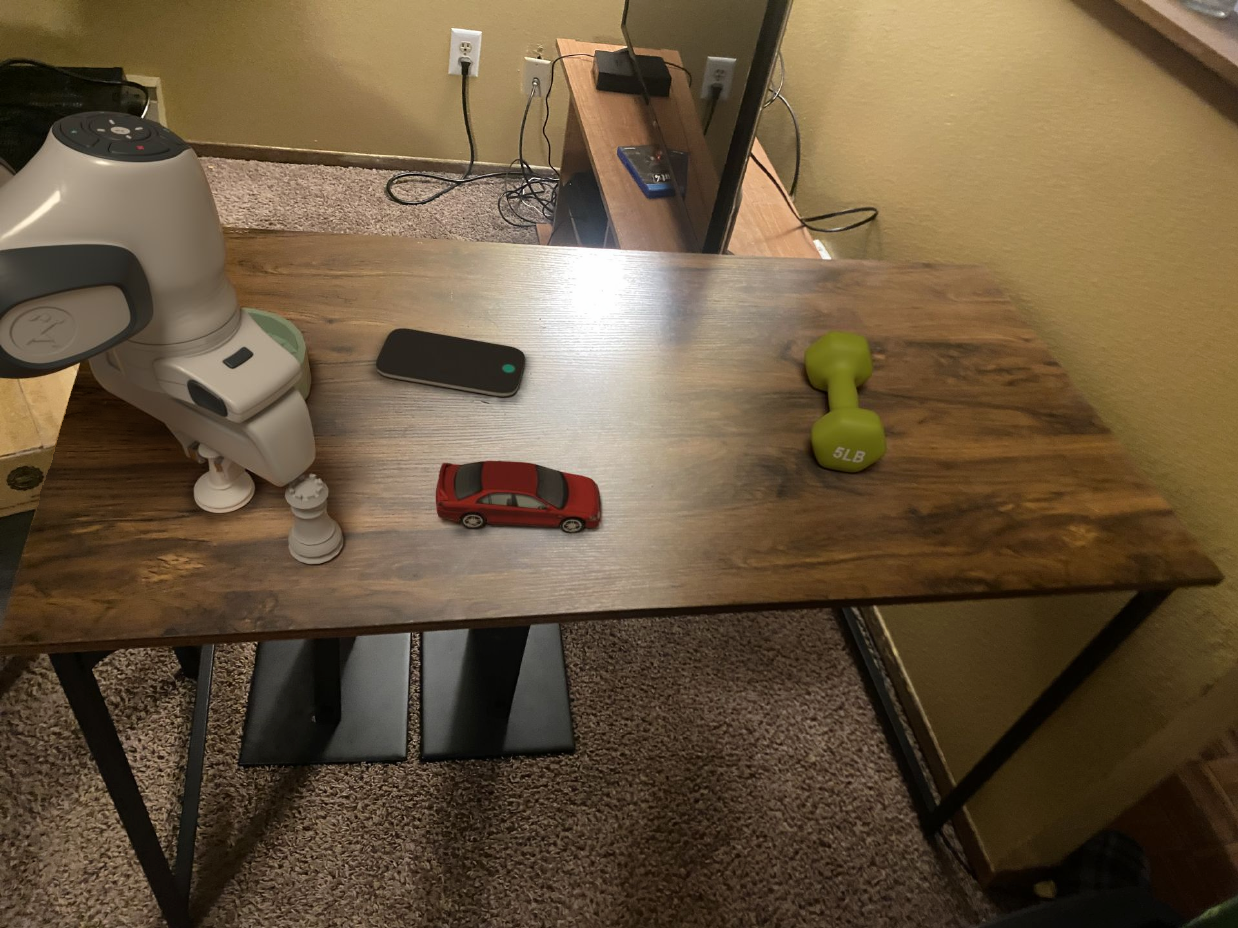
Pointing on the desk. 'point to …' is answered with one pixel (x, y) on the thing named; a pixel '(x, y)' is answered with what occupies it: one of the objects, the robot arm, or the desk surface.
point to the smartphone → (451, 362)
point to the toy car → (516, 496)
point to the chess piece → (221, 487)
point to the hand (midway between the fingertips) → (216, 464)
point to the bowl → (286, 342)
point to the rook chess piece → (312, 522)
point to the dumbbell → (844, 403)
